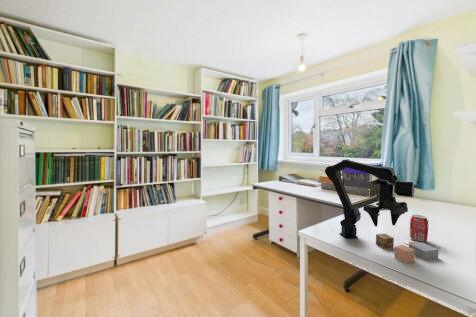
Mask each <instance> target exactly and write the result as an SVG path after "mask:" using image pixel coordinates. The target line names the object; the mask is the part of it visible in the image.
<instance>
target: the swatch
mask: <svg viewBox="0 0 476 317" xmlns="http://www.w3.org/2000/svg"><path fill="white" fill-rule="evenodd" d="M412 243H420V242H419V241H415V240H411V241H403V244H405V245H406V246H409V244H412Z"/></svg>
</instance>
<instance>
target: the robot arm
mask: <svg viewBox="0 0 476 317" xmlns="http://www.w3.org/2000/svg"><path fill="white" fill-rule="evenodd" d="M346 168H348V169H351V170H355V171H358V172H362V173H366V174H369V175H372V176H373V177H375V178H377V179H376V180H375V181H374V182H373V184H375V185H378V194H376V198H378V199H377V200H378V201H377V202H376V205H374V204H364V205H363V211H364V212H365V213H367V214H368V215H369V217H370V218H371V221H372V224H373V225H374V227H376V228H377V227H378V224H379V222H378V221H379V216H380V215H381V214H380V211H390V220H391V225H392V226H396V224H397V222H398V220H399V218H400V217H401V216H402V215H405V214H406V213H408V211H409V210H408V209H409V208H408V203H407V202H406V201H401V202H400V201H397V200H396V199H397V198H396V196H394V194H395V195H397V196H399V197H406V198H407V197H408V198H414V196H415V187H414V182H413V181H402V180H400V179H399V177H398V176H397V175H396V172H395V170H394V169H393V168H392V167H390V166H377V165H370V164H367V163H364V162H363V163H362V162H358V161H355V160H350V159H347V158H346V159H342V160H341V161H340V162H337V163H336V164H333V165H328V166H327V167H325V170H324V173H325V175H326V176H327V178H328V179H329V180H330V181H331V183H332V184H333V186H334V188H335V191H336V193H337V196H338V197H339V201H340V202H341V205H342V207H343V217H344V219H342V220H340V222H339V223H340V227H341V231H340V232H339V235H340V236H342V237H344V238H345V239H346V238H347V239H348V240H349V239H358V238H359V237H358V235H357V232H358V231H357V225H356V224H357V223H358V222H359V221H360V220H361V218H362V216H361V215H362V213H361V212H360V209H359V207H358V206H357V207H355V206H354V205H353V203H352V201H351V199H350V196H349V194H348V191H347V190H346V187H345V185H344V183H343V181H342V173H341V171H343V170H345V169H346Z"/></svg>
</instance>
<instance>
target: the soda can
mask: <svg viewBox="0 0 476 317" xmlns="http://www.w3.org/2000/svg"><path fill="white" fill-rule="evenodd" d="M409 222H410V223H409V238H410V239H411V240H412V241H417V242H419V243H425V242H427V241H428V237H429V236H428V235H429V220H428V217H426V216H425V215H420V214H412V216H411V217H410V221H409Z"/></svg>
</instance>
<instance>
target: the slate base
mask: <svg viewBox="0 0 476 317" xmlns="http://www.w3.org/2000/svg"><path fill="white" fill-rule="evenodd" d="M408 247H410V248H412V249H415V256H416V257H417V258H420V259H421V260H424V261H428V260H436V259H439V249H438V248H435V247H434V246H432V245H430V244H427V243H425V242H419V243H412V244H409V245H408Z"/></svg>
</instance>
